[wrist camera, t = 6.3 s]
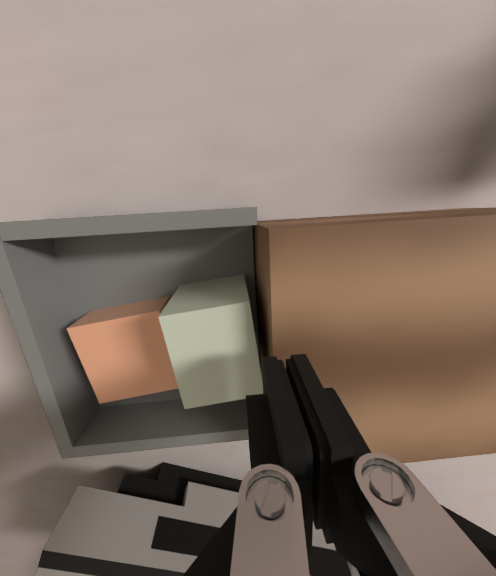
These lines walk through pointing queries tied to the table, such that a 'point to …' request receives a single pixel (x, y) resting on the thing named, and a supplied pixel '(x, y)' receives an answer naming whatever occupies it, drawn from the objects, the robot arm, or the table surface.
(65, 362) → the bin
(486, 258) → the brown box
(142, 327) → the terracotta block
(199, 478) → the game console
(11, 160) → the table surface
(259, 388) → the sage block
